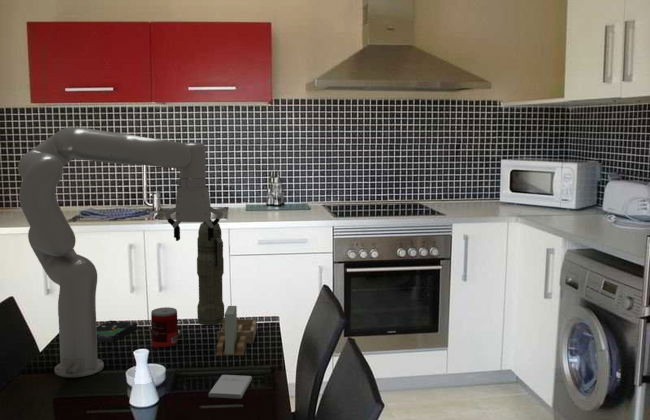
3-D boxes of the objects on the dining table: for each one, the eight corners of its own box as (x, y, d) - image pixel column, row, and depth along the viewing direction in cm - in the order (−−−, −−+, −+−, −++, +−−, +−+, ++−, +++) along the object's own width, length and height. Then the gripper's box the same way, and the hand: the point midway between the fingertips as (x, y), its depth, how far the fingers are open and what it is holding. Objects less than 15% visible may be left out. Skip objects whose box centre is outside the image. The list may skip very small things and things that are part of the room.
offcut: (235, 335, 198) (235, 328, 198) (221, 335, 198) (221, 329, 197) (235, 330, 203) (235, 324, 203) (222, 330, 203) (222, 324, 202)
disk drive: (109, 328, 216) (83, 341, 202) (109, 320, 216) (83, 332, 202) (137, 330, 214) (113, 344, 200) (137, 322, 214) (112, 335, 199)
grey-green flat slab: (233, 354, 187) (233, 314, 185) (225, 354, 187) (224, 314, 185) (236, 344, 196) (236, 305, 194) (228, 344, 196) (228, 305, 194)
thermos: (214, 330, 212) (212, 225, 208) (189, 324, 219) (187, 222, 215) (233, 324, 219) (232, 222, 215) (208, 318, 226) (207, 219, 222)
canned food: (176, 340, 202) (175, 306, 201) (179, 348, 195) (178, 313, 193) (151, 342, 200) (150, 308, 198) (152, 351, 192) (151, 315, 191)
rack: (253, 346, 197) (253, 332, 197) (217, 346, 197) (216, 332, 196) (256, 332, 211) (256, 319, 210) (222, 332, 211) (222, 319, 210)
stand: (243, 358, 187) (243, 346, 186) (215, 358, 186) (215, 346, 186) (246, 346, 196) (246, 335, 196) (220, 347, 196) (220, 335, 196)
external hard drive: (208, 399, 159) (221, 380, 171) (241, 400, 158) (251, 381, 171) (208, 392, 159) (221, 374, 171) (241, 394, 158) (251, 375, 170)
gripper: (161, 184, 190) (162, 242, 192) (220, 185, 190) (221, 242, 192) (166, 182, 197) (167, 238, 199) (223, 183, 198) (224, 238, 200)
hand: (194, 240), depth 196 cm, fingers open, 9 cm apart
